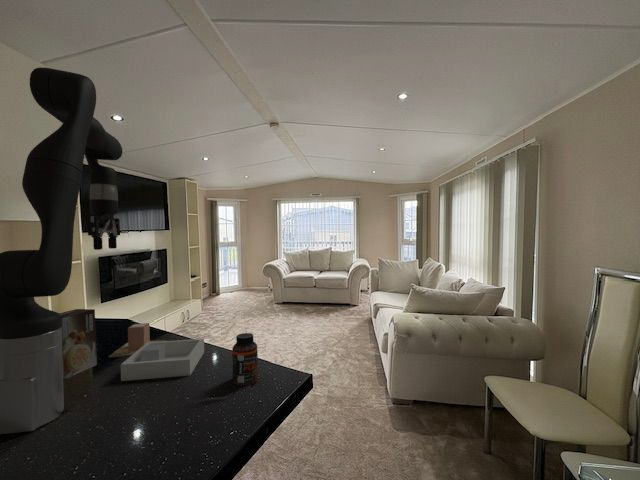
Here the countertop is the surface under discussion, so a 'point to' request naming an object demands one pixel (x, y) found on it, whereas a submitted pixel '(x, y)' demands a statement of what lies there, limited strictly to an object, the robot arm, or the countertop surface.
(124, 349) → the board
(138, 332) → the labelled block
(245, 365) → the supplement bottle
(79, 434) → the countertop surface
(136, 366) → the bin
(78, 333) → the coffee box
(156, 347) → the plain block
